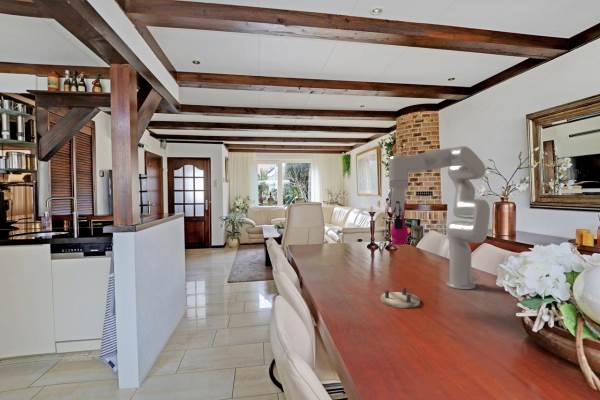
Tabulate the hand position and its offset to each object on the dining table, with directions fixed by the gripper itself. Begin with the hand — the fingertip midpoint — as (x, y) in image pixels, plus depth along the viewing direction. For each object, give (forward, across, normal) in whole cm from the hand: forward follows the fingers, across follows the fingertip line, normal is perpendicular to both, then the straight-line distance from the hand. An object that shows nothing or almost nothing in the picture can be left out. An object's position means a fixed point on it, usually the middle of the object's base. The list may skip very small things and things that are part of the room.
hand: (399, 227), depth 135 cm
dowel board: (+31, 0, 0) cm, 31 cm away
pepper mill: (+7, 0, 0) cm, 7 cm away
